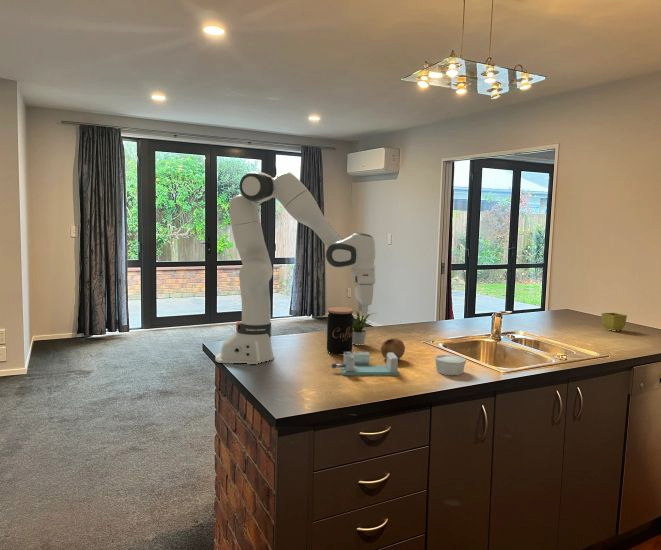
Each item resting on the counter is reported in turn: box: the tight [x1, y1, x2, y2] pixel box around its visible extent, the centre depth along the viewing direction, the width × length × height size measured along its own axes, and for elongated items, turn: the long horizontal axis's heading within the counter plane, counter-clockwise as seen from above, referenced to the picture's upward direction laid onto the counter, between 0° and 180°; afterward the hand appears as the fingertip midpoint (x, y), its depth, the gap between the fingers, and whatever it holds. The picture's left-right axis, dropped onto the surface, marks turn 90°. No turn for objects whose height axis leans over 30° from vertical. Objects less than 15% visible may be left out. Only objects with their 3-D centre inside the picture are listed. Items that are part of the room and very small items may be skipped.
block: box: [351, 351, 370, 366], centre depth 185 cm, size 6×4×5 cm, turn 95°
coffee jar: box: [326, 306, 354, 355], centre depth 203 cm, size 11×11×18 cm
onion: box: [380, 337, 406, 360], centre depth 194 cm, size 10×9×10 cm
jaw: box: [331, 351, 355, 371], centre depth 176 cm, size 8×8×5 cm
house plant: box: [352, 309, 376, 345], centre depth 217 cm, size 14×14×16 cm
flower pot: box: [600, 312, 628, 331], centre depth 261 cm, size 9×9×9 cm
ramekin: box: [434, 354, 467, 376], centre depth 180 cm, size 11×11×5 cm
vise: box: [340, 353, 400, 376], centre depth 177 cm, size 20×8×6 cm, turn 95°
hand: (362, 313), depth 183 cm, fingers open, 8 cm apart
